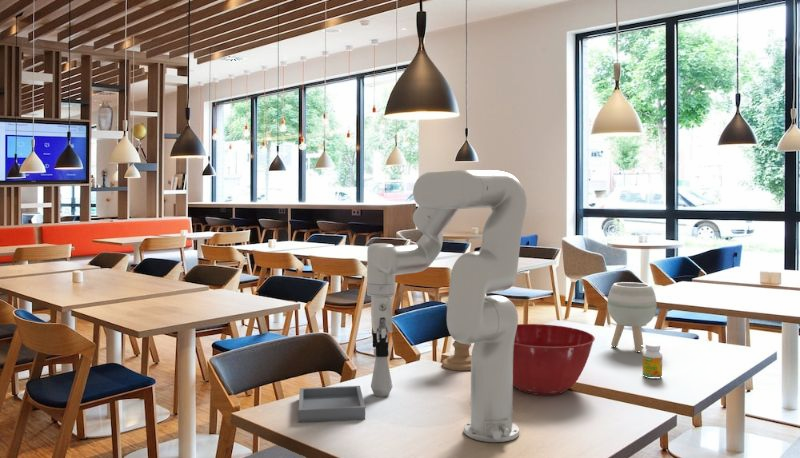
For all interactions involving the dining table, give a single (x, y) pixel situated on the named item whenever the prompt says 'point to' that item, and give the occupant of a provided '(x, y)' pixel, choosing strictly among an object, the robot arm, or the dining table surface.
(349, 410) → the tray
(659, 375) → the supplement bottle
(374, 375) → the salt shaker
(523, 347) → the mixing bowl
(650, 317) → the planter
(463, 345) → the candle holder
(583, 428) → the dining table surface
